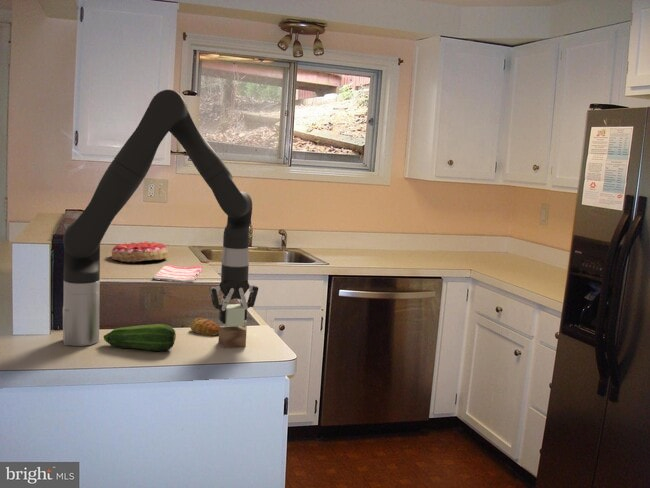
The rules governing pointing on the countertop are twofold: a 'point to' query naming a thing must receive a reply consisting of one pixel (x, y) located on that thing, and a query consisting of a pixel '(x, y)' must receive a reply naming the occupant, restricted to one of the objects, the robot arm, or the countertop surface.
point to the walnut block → (232, 336)
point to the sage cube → (235, 315)
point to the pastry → (204, 327)
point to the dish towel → (178, 273)
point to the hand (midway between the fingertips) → (233, 322)
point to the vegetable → (143, 337)
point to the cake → (139, 252)
